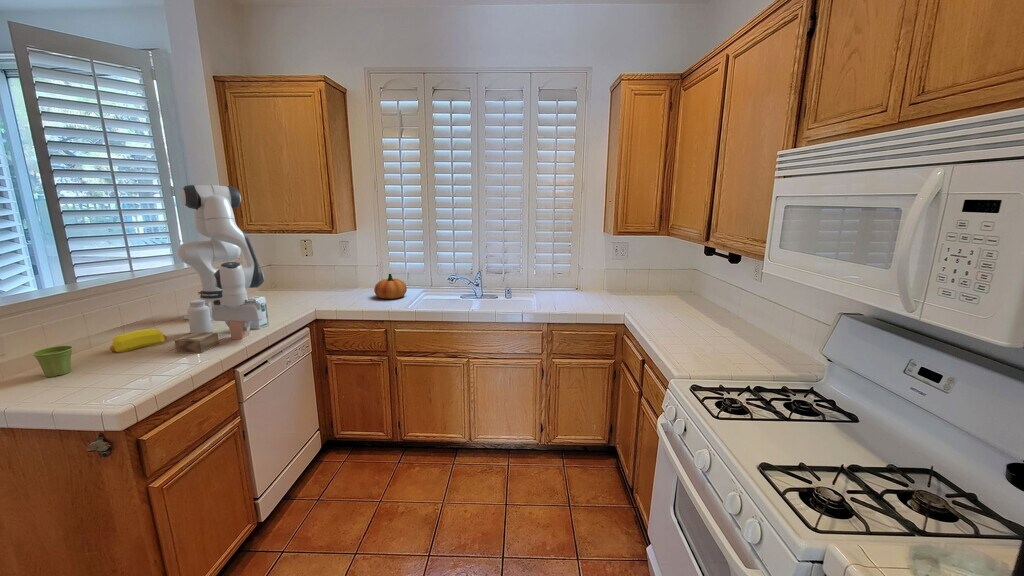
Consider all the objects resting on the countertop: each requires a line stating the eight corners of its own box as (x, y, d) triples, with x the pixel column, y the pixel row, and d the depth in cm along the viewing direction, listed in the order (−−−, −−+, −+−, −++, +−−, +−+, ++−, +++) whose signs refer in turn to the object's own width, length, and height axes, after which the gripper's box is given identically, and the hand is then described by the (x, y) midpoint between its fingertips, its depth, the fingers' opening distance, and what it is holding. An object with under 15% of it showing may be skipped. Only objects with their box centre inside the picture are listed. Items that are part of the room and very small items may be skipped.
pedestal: (176, 352, 162) (174, 339, 161) (195, 343, 172) (193, 331, 171) (201, 352, 162) (199, 340, 161) (219, 344, 172) (217, 332, 171)
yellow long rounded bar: (170, 342, 174) (163, 339, 178) (168, 327, 172) (161, 324, 176) (113, 355, 159) (107, 351, 163) (110, 339, 157) (104, 335, 162)
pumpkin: (398, 292, 271) (396, 270, 268) (412, 297, 257) (411, 274, 254) (369, 296, 258) (368, 273, 255) (383, 302, 244) (382, 277, 241)
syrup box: (259, 329, 192) (256, 299, 189) (249, 328, 193) (245, 298, 190) (269, 325, 198) (265, 296, 194) (258, 324, 199) (255, 295, 196)
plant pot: (57, 368, 146) (51, 345, 144) (85, 367, 147) (80, 345, 145) (29, 379, 137) (23, 355, 135) (60, 379, 138) (54, 354, 136)
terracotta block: (231, 339, 178) (228, 321, 177) (238, 335, 183) (236, 318, 181) (242, 339, 178) (240, 321, 177) (249, 335, 183) (247, 318, 181)
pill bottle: (216, 331, 188) (212, 299, 185) (198, 336, 181) (193, 303, 178) (204, 329, 191) (199, 298, 188) (186, 334, 183) (181, 302, 180)
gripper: (263, 298, 180) (267, 328, 183) (217, 297, 180) (222, 327, 183) (254, 302, 174) (258, 333, 177) (207, 301, 174) (211, 332, 177)
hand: (239, 330), depth 180 cm, fingers closed on terracotta block, 5 cm apart
